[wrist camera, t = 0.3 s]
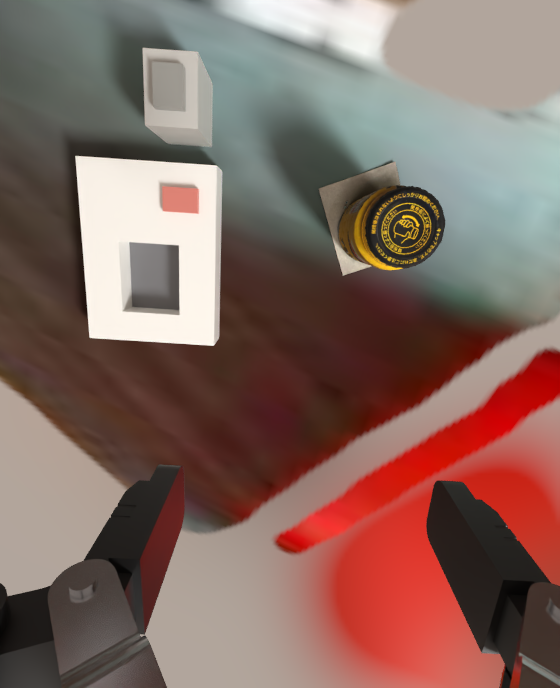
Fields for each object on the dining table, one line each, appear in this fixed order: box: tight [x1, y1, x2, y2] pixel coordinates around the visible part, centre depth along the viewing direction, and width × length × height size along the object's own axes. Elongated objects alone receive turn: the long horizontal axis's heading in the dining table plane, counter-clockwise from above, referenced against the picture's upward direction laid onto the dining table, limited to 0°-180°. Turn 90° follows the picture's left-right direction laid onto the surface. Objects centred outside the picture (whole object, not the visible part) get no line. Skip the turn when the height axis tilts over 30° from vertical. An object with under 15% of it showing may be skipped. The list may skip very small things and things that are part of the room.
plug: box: [143, 48, 213, 147], centre depth 30 cm, size 5×4×7 cm
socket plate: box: [75, 156, 222, 346], centre depth 35 cm, size 16×12×4 cm
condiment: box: [319, 162, 445, 275], centre depth 30 cm, size 7×8×12 cm
